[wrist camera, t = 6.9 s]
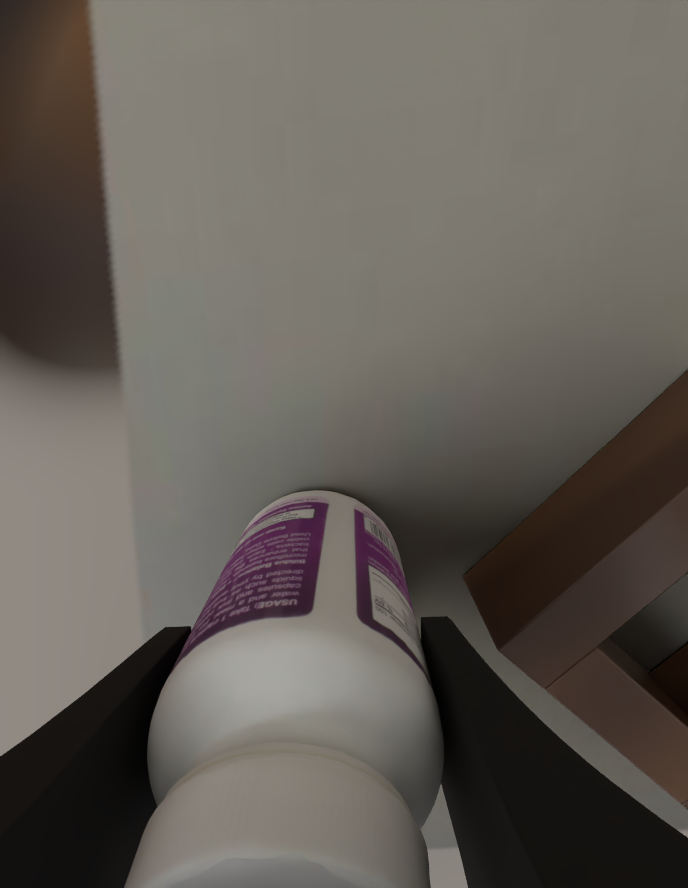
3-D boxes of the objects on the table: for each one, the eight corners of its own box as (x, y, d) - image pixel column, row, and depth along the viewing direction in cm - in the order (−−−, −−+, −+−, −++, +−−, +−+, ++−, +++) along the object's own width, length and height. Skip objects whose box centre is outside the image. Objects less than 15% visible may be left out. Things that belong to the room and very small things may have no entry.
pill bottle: (231, 617, 15) (31, 1095, 6) (248, 473, 14) (26, 777, 4) (384, 641, 15) (443, 1143, 6) (415, 500, 14) (558, 851, 4)
